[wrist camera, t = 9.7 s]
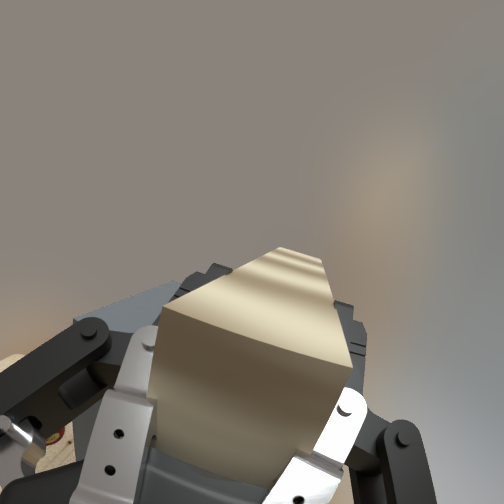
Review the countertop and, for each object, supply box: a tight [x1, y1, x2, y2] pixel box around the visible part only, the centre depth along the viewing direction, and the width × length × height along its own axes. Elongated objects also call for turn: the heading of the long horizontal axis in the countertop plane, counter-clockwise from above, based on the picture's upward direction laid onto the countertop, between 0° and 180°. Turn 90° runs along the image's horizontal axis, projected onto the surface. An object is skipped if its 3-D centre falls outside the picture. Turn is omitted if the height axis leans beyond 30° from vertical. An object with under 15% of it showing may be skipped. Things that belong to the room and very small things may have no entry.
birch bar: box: [146, 247, 353, 490], centre depth 18 cm, size 24×4×4 cm, turn 168°
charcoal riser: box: [72, 281, 261, 488], centre depth 26 cm, size 16×16×32 cm
